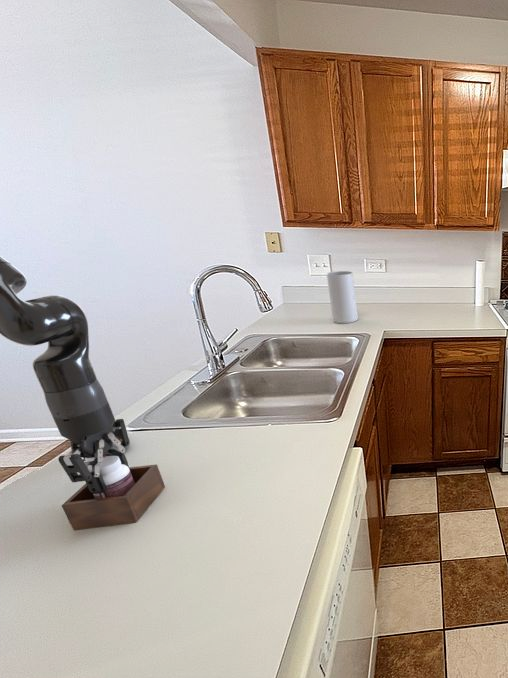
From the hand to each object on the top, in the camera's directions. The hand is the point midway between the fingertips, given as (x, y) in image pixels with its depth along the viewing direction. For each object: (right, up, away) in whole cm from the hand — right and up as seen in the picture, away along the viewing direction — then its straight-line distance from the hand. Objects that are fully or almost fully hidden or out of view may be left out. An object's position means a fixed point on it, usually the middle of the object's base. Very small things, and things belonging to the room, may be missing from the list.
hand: (111, 480), depth 79 cm
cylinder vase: (+2, +45, +132) cm, 139 cm away
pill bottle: (0, -6, +3) cm, 7 cm away
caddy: (0, -6, +2) cm, 7 cm away
